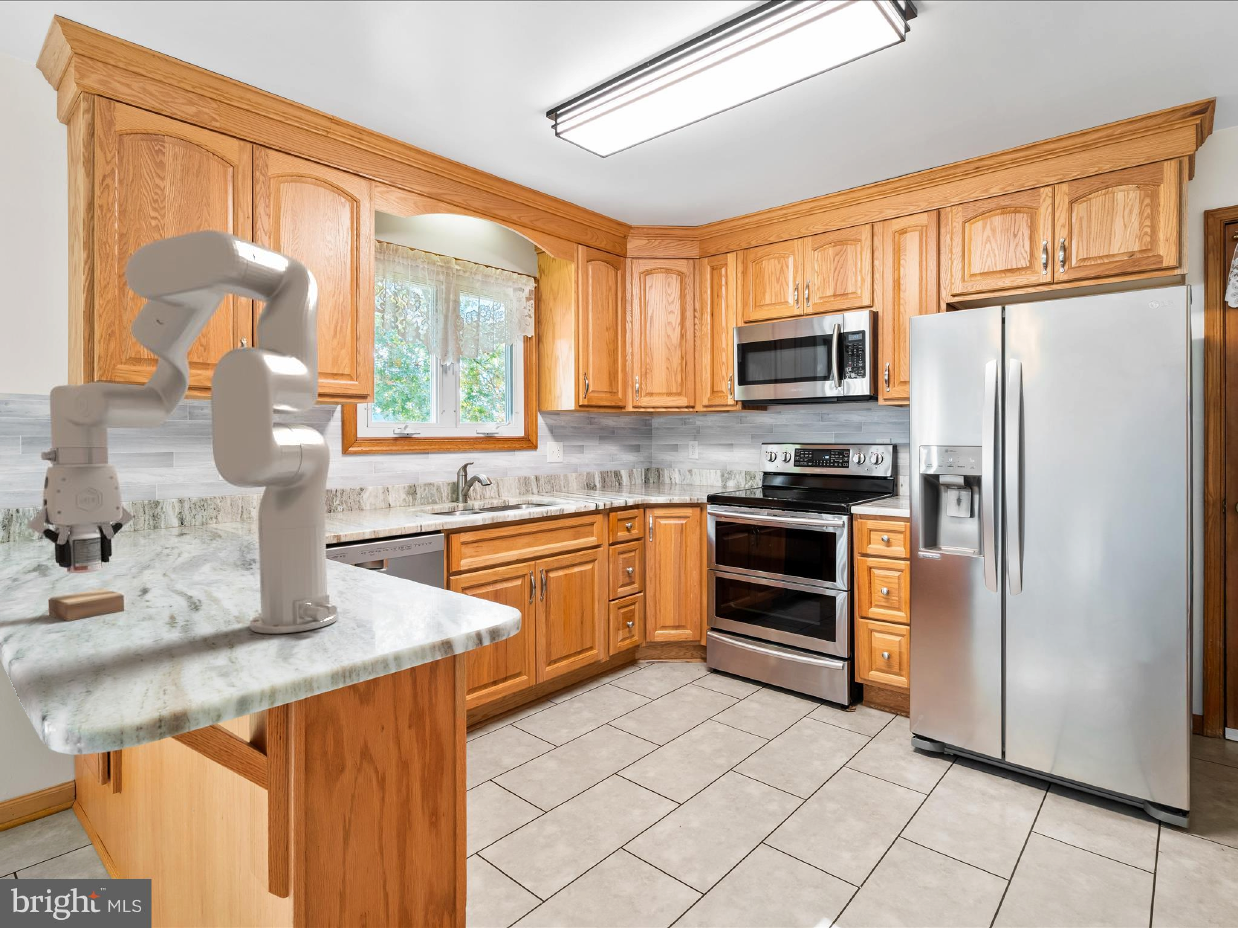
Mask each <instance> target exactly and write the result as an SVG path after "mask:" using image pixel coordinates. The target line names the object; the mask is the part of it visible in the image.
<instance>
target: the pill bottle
mask: <svg viewBox="0 0 1238 928" xmlns="http://www.w3.org/2000/svg"><path fill="white" fill-rule="evenodd" d="M67 543H68V544H70V546H71V566H70V567H68V568H66V572H67V574H68V573H69V574H85V573H92V572H97V571H100V570H102V569H103V562H102V557H101V536H100V533H99V532H98V529H97V524H89V525H78V526H71V527H70V530H69V534H68V537H67Z"/></svg>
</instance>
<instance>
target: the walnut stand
mask: <svg viewBox="0 0 1238 928" xmlns="http://www.w3.org/2000/svg"><path fill="white" fill-rule="evenodd" d="M124 597H125V596H124V594H122V593H120V592H117V591H111V590H108V589H104V588H101V589H95V590H90V591H89V590H88V591H83V592H77V593H69V594H64V595H58V596H57V595H56V596H53V597H50V598H49V599H48V602H47V603H48V615H49V616H51V617H54V618H56V619H59V620H63V621H66V622H71V621H76V620H82V619H86V618H92V617H97V616H103V615H108V614H113V613H119V612H124V611H125V600H124V599H125V598H124Z"/></svg>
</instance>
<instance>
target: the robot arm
mask: <svg viewBox="0 0 1238 928" xmlns="http://www.w3.org/2000/svg"><path fill="white" fill-rule="evenodd" d="M124 272H125V280H126V284H127V286H128V288H129V289H130V290H131V291H132V293H134V294H135V295H137V296H138V297H141V298H143V299H146V300H147V301H145V304H144V305H143V306H142V308H141V310H140V311H139V313H138V314H137V316H135V318H134V320H133V321H132V323H131V325H130V333H131V336H132V337H133V338H134V339H135V341H137V343H138V344H139V345H141V346H142V347H143V348H145V349H146V350H147V351H148V352H149V353H152V354H153V355H155V356H156V357H158V360H157V362H158V363H157V366H156V368H155V370H154V372H153V373H152V375H151V376H150V377H149V379H148V380H147V381H146V383H145V384H144V385H143V384H142V385H140V384H129V383H127V384H126V383H114V382H103V381H98V382H97V381H95V382H88V383H84V384H79V385H77V384H73V385H72V384H71V385H70V384H69V385H68V384H66V385H65V384H63V385H57V386H55V387H53V388H52V389H51V390H50V392H49V410H50V413H49V414H50V434H51V435H50V437H51V438H50V439H51V441H50V442H51V447H50V450H49V451H48V450H47V451H44V452H43V451H42V452H41V454H40V458H41V460H42V461H48V462H50V464H52V466H48V467H47V469H46V474H45V477H44V478H45V480H44V485H43V491H42V508H41V509H40V510H39V511H38V513H37V514H36V515H35V516H34V518H32V520H31V521H30V522H29V523H28V525H27V528H29V529H30V530H32V531H34V532H36V533H38V534H40V535H42V536H43V537H45V538H46V539H47V540H49V542H51V543H53V544H54V559H55V560H54V561H55V562H56V563H57V564H58V566H59V567H60V568H65V569H67V568H68V567H70V566H71V546H70V544H68V543H67V537H68V534H70V532H69V530H70V527H71V526H78V525H89V524H97V532H98V533H100V536H101V557H102V563H110V557H112V555H113V551H112V550H113V548H112V547H113V546H112V544H113V543H112V540H113V539H114V538H115V535H116V534H118V532H119V531H120V530H122V528H123V527H125V526H126V525H127V524H128V523H130V522H131V521H132V520H133V519H134V516H133V515H132V514H131V513H130V512H129V511H128V509H126V508H125V507H124V506H123V504H122V496H121V495H122V494H121V489H120V483H119V479H118V477H119V476H118V474H117V471H116V467H115V465H109V448H108V446H109V443H108V429H152V428H156V427H158V426H160V425H163V424H164V423H165V422H166V421H167V420H168V419H169V418H170V417H171V416H172V414H174V412H175V411H176V410H177V408H178V407H179V405H180V404H181V402H182V400H184V398H185V396H186V394H187V392H188V388H189V385H190V365H189V360H188V358H187V354H188V352H189V351H190V349H191V348H192V346H193V344H194V343H195V342H196V341H197V339H198V338H199V336H200V335H201V333H202V332H203V331H204V329H205V328H206V326H207V325H208V323H209V322H210V320H211V319H212V318H213V316H214V315H215V313H216V312H217V310H218V309H219V307H221V304H222V303H223V302H224V300H225V298H226V297H227V295H228V294H229V295H234V296H237V297H240V298H241V297H242V298H247V299H250V300H254V301H257V302H262V303H265V305H264V307H263V308H262V310H261V312H260V314H259V317H258V320H257V323H256V339H257V341H256V347H255V346H254V347H253V346H242V347H236V348H233V349H231V350H229V351H227V352H226V353H225V354H223V356H221V358H220V359H219V360H218V362H217V363H216V365H215V368H214V370H213V373H212V377H211V383H210V387H211V388H210V395H211V396H210V402H211V404H210V405H211V406H210V407H211V433H212V434H211V435H212V439H211V440H212V455H213V461H214V464H215V467H216V470H217V472H218V473H219V475H220V476H221V478H222V479H223V480H224V481H226V482H227V483H228V484H230V485H232V486H234V487H239V488H245V489H247V488H250V489H251V488H263V487H264V491H263V492H262V496H261V498H260V502H259V507H258V515H257V524H258V526H257V527H258V530H257V531H258V557H259V558H258V561H259V562H258V563H259V588H260V590H259V591H260V592H259V593H260V615H258V616H255V617H254V618H253V617H252V619H251V620H249V621H250V622H249V626H250V628H249V629H250V630H251V631H253V632H256V633H261V634H272V635H273V634H288V633H289V634H291V633H299V632H304V631H311V630H316V629H319V628H323V627H326V626H329V625H331V624H333V623H335V622H337V621H338V619H339V611H338V608H337V606H336V605H334V604H330V594H328V583H327V581H328V578H327V575H328V574H327V573H328V572H327V548H326V547H327V545H326V544H327V543H326V542H327V541H326V539H327V538H326V489H327V481H328V475H329V468H330V462H331V461H330V459H331V457H330V448H329V444H328V442H327V440H326V439H325V437H324V436H323V435H322V434H321V432H319V431H317V430H316V429H314V428H313V427H310V426H308V425H304V424H300V423H291V422H290V423H288V422H287V423H286V422H274V415H299V414H303V413H306V412H308V411H310V410H311V409H312V408H313V407H314V406H315V405H316V403H317V401H318V397H319V350H318V349H319V348H318V346H319V343H318V314H319V305H320V304H319V303H320V302H319V301H320V298H319V297H320V296H319V295H320V293H319V288H318V283H317V281H316V278H315V277H314V275H313V273H312V272H311V270H310V269H309V268H308V267H307V266H306V265H305V264H304V263H302V262H300V261H298V260H297V259H295V258H293V257H291V256H289V255H287V254H284V253H282V252H280V251H277V250H275V249H272V248H269V247H267V246H265V245H261V244H259V243H255V242H252V241H250V240H247V239H244V238H241V237H239V236H238V235H237V236H236V235H234V234H231V233H229V232H226V231H221V230H213V229H208V230H207V229H203V230H198V231H192V232H189V233H184V234H180V235H175V236H171V237H166V238H162V239H158V240H154V241H152V242H149V243H146V244H144V245H143V246H140V248H138V249H136V251H134V253H132V254H131V256H130V257H129V259H128V261H127V263H126V266H125V270H124ZM44 523H45V524H47V525H51V526H54V527H53V528H54V529H51V528H49V527H47V526H45V525H44Z"/></svg>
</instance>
